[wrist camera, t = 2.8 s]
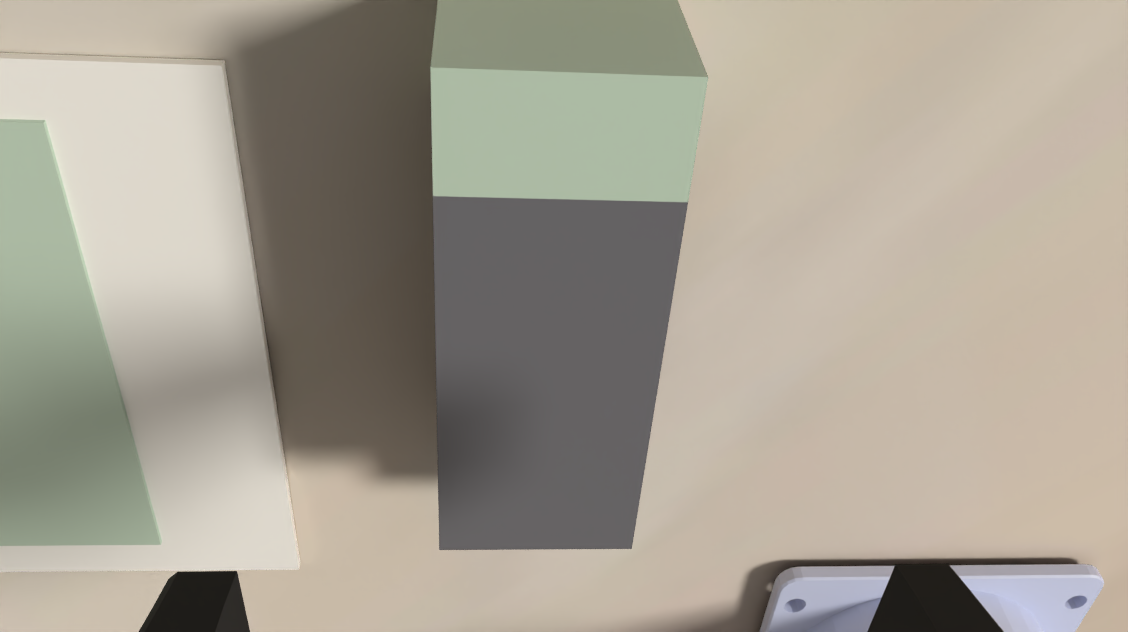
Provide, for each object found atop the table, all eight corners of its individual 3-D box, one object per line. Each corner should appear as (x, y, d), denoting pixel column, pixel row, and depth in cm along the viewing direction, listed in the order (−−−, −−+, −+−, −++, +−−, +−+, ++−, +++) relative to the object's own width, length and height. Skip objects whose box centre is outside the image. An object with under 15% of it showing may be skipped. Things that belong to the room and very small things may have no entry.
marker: (608, 450, 21) (625, 584, 19) (446, 450, 21) (439, 585, 18) (669, -20, 15) (708, 76, 12) (440, -31, 15) (430, 67, 12)
